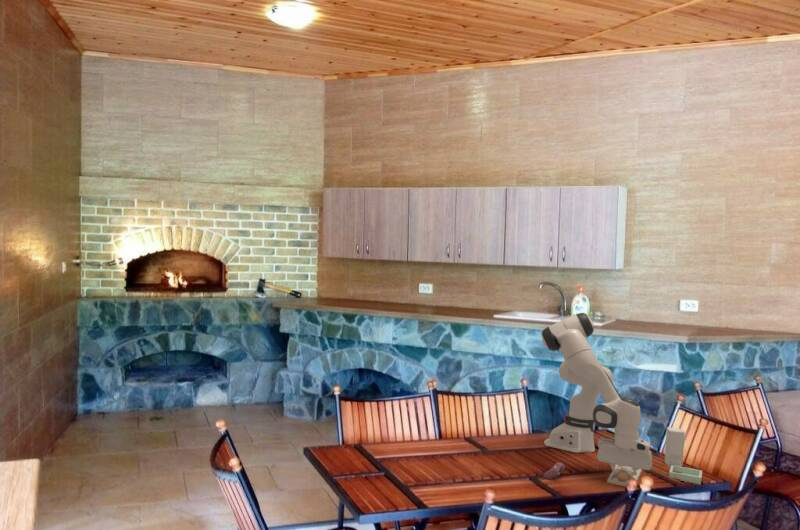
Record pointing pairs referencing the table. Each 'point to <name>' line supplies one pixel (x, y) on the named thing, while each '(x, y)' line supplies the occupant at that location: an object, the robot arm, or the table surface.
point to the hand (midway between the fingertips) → (622, 476)
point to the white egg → (626, 469)
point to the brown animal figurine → (554, 471)
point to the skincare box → (674, 447)
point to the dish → (686, 474)
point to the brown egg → (622, 476)
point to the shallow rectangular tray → (614, 480)
